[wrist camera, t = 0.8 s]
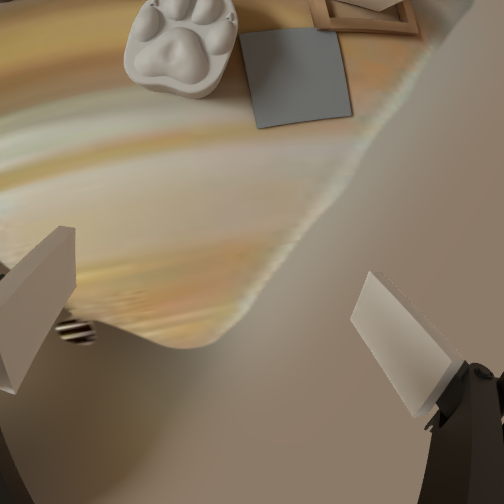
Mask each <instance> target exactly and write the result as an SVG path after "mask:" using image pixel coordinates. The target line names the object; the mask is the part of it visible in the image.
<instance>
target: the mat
mask: <svg viewBox="0 0 504 504" xmlns="http://www.w3.org/2000/svg"><path fill="white" fill-rule="evenodd" d="M238 36H239V40H240V45H241V50H242V55H243V59H244V64H245V69H246V74H247V79H248V84H249V89H250V94H251V99H252V104H253V110H254V115H255V120H256V125H257V129H259V128H264V127H270V126H276V125H282V124H289V123H296V122H303V121H310V120H318V119H326V118H335V117H345V116H352V115H351V108H350V102H349V96H348V90H347V84H346V78H345V73H344V68H343V62H342V57H341V52H340V48H339V43H338V39H337V34H336V31H317V28H316V27H313V28H292V29H279V30H268V31H258V32H250V33H243V34H239V35H238Z"/></svg>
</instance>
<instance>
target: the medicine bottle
mask: <svg viewBox="0 0 504 504" xmlns="http://www.w3.org/2000/svg"><path fill="white" fill-rule="evenodd" d="M337 1H341V2H345V3H349V4H353V5H357V6H360V7H364V8H367V9H371V10H374V11H377V12H380V11H382V10H384V9H386V8H388V7H390V6H392V5H394V4H396V3H398V2H401V1H403V0H337Z"/></svg>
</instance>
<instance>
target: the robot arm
mask: <svg viewBox="0 0 504 504" xmlns="http://www.w3.org/2000/svg"><path fill="white" fill-rule="evenodd" d="M8 1H11V0H0V3H2V2H8ZM75 288H76V265H75V228H71V227H65V226H59V227H58V228H56V229H55V230H54V231H53V232H52V233H51V234H49V235H48V236H47V237H46V238H45V239H44V240H43V241H42V242H40V243H39V244H38V245H37V246H36V247H35V248H34V249H33V250H32V251H31V252H29V253H28V254H27V255H26V256H25V257H24V258H23V259H22V260H21V261H20V262H19V263H18V264H17V265H16V266H15V267H14V268H13V269H12V270H11V271H10V272H9V273H8V274H7V275H4V274H1V275H0V389H1V390H3V391H6V392H9V393H12V394H16V392H17V390H18V388H19V386H20V384H21V382H22V380H23V378H24V376H25V374H26V372H27V370H28V368H29V366H30V364H31V363H32V361H33V359H34V357H35V355H36V353H37V351H38V350H39V348H40V346H41V344H42V342H43V341H44V339H45V337H46V335H47V334H48V332H49V330H50V328H51V327H52V325H53V323H54V322H55V320H56V318H57V317H58V315H59V313H60V312H61V310H62V308H63V307H64V305H65V304H66V302H67V300H68V299H69V297H70V296H71V294H72V293H73V291H74V289H75ZM350 321H351V322H352V323H353V325H354V326H355V328H356V329H357V331H358V332H359V334H360V335H361V337H362V338H363V340H364V341H365V343H366V345H367V346H368V347H369V349H370V350H371V352H372V354H373V355H374V357H375V358H376V360H377V361H378V363H379V364H380V366H381V367H382V369H383V371H384V372H385V374H386V375H387V377H388V378H389V380H390V382H391V383H392V385H393V386H394V388H395V389H396V391H397V393H398V394H399V396H400V397H401V399H402V401H403V402H404V404H405V405H406V407H407V408H408V410H409V412H410V413H411V415H412V417H413V418H414V417H418V416H423V415H427V414H428V412H429V411H430V410H431V409H432V407H433V406H434V404H435V403H436V404H437V406H438V407H439V410H438V411H437V412H436V414H435V415H434V416H433V418H432V419H431V420H430V421H429V422H428V424H427V425H426V426H425V428H424V430H427V429H428V428H429V426H431V425H433V428H432V429H431V430H430V432H432V437H431V443H430V449H429V454H428V460H427V465H426V470H425V474H424V479H423V483H422V488H421V492H420V495H419V499H418V503H417V504H504V424H503V425H502V422H501V418H502V417H503V416H504V372H503V373H502V375H501V377H500V378H495V377H494V375H493V373H492V372H491V371H490V370H489V369H488V368H486V367H485V366H483V365H481V364H479V363H471V364H470V365H469V364H468V363H467V362H466V361H465V359H464V358H463V356H462V355H461V354H460V353H459V352H458V351H457V350H456V349H455V348H454V347H453V345H452V344H451V343H450V342H449V341H448V340H447V339H446V338H445V337H444V336H443V335H442V334H441V332H440V331H439V330H438V329H437V328H436V327H435V326H434V325H433V324H432V323H431V322H430V321H429V320H428V319H427V318H426V317H425V316H424V315H423V313H422V312H421V311H420V310H419V309H417V307H416V306H415V305H414V304H413V303H412V302H411V301H410V300H409V299H408V298H407V297H406V296H405V295H404V294H403V293H402V292H401V291H400V290H399V289H398V288H397V287H396V286H395V285H394V284H393V283H392V282H391V281H390V280H388V278H387V277H385V276H384V274H383V273H380V272H373V271H369V273H368V276H367V278H366V281H365V283H364V286H363V288H362V291H361V294H360V296H359V299H358V301H357V304H356V306H355V308H354V311H353V313H352V316H351V318H350ZM0 504H34V502H33V500H32V498H31V496H30V494H29V492H28V490H27V488H26V486H25V484H24V482H23V480H22V478H21V476H20V475H19V472H18V470H17V467H16V466H15V463H14V461H13V458H12V456H11V454H10V451H9V449H8V446H7V444H6V441H5V439H4V436H3V433H2V431H1V428H0Z"/></svg>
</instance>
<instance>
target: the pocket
mask: <svg viewBox="0 0 504 504" xmlns="http://www.w3.org/2000/svg"><path fill="white" fill-rule="evenodd" d="M308 3H309V7H310V11H311V15H312V19H313V23H314V27H316V28H317V31H336V32H371V33H387V34H399V35H409V36H413V35H417V34H419V31H418V26H417V22H416V18H415V15H414V11H413V7H412V4H411V0H403V1H401V2H398V3H396V5H397V9H398V13H399V17H400V21H401V22H396V21H386V20H374V19H358V18H329V14H328V10H327V6H326V2H325V0H308Z"/></svg>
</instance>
